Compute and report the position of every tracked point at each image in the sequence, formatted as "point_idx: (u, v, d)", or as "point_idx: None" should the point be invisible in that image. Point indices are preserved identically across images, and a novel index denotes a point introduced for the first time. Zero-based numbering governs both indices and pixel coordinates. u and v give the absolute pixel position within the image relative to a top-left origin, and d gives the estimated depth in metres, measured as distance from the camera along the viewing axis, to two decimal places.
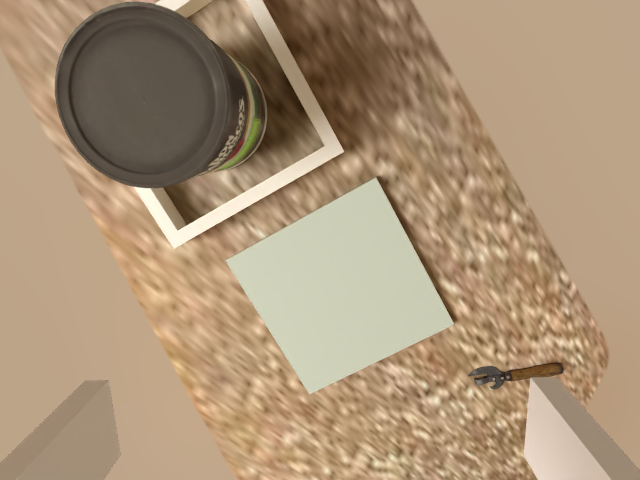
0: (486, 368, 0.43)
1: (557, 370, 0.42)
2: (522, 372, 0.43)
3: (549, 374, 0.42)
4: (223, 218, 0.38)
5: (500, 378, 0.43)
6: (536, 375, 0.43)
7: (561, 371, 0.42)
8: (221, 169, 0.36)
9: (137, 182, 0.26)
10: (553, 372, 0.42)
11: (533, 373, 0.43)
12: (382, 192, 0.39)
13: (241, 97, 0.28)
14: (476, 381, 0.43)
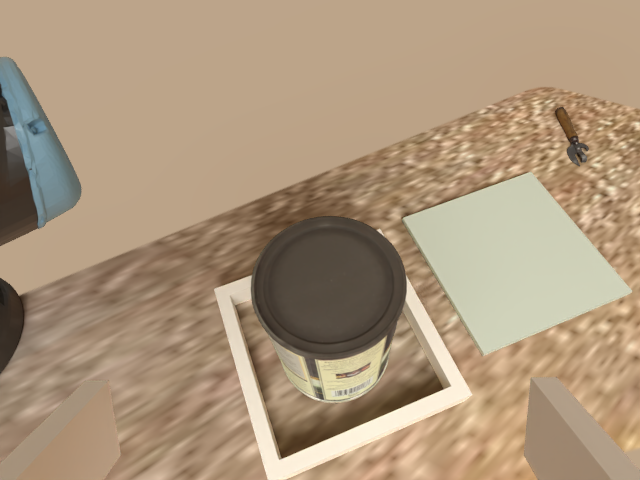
0: (569, 154, 0.51)
1: (561, 110, 0.54)
2: (568, 130, 0.52)
3: (566, 114, 0.53)
4: (437, 335, 0.38)
5: (576, 144, 0.51)
6: (569, 121, 0.53)
7: (562, 108, 0.54)
8: None
9: (400, 298, 0.28)
10: (564, 112, 0.54)
11: (567, 123, 0.53)
12: (415, 214, 0.47)
13: None
14: (583, 159, 0.50)
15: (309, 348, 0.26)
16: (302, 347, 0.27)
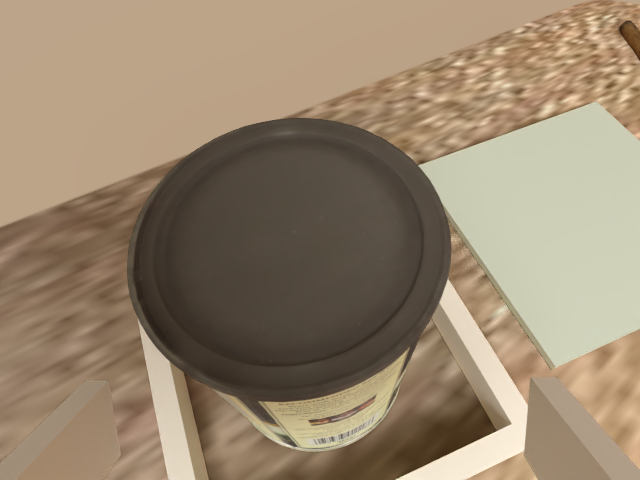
0: None
1: (629, 24, 0.39)
2: None
3: (636, 29, 0.39)
4: (482, 338, 0.23)
5: None
6: None
7: (630, 21, 0.39)
8: None
9: (440, 263, 0.13)
10: (633, 26, 0.39)
11: (639, 40, 0.38)
12: (434, 160, 0.32)
13: None
14: None
15: (239, 377, 0.12)
16: (224, 374, 0.12)
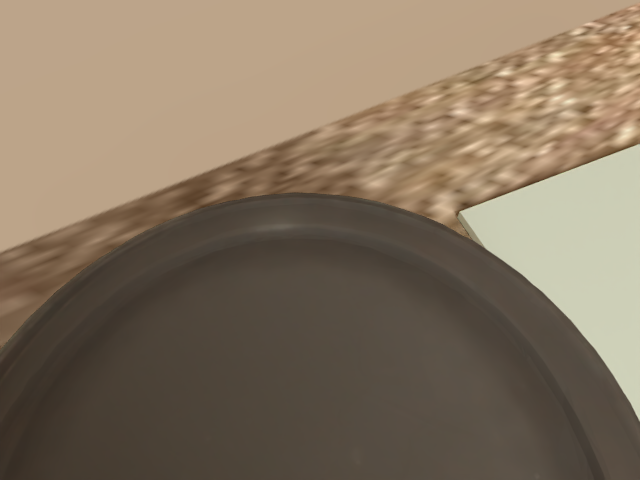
0: None
1: None
2: None
3: None
4: None
5: None
6: None
7: None
8: None
9: None
10: None
11: None
12: (484, 204, 0.24)
13: None
14: None
15: None
16: None
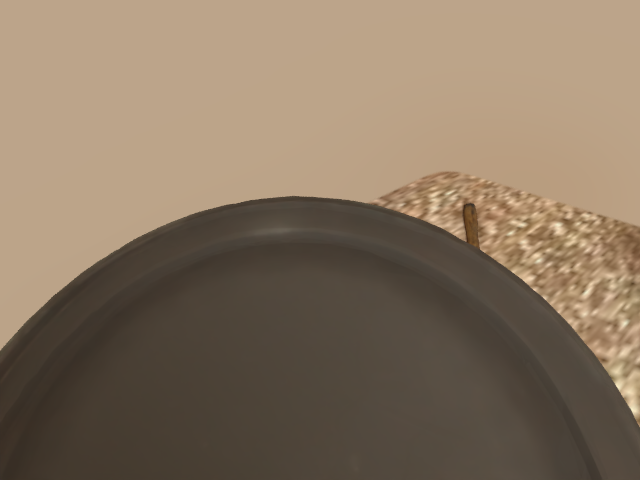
0: None
1: (469, 208, 0.42)
2: (469, 238, 0.41)
3: (473, 214, 0.41)
4: None
5: None
6: (473, 225, 0.41)
7: (471, 204, 0.42)
8: None
9: None
10: (471, 211, 0.42)
11: (471, 228, 0.41)
12: None
13: None
14: None
15: None
16: None
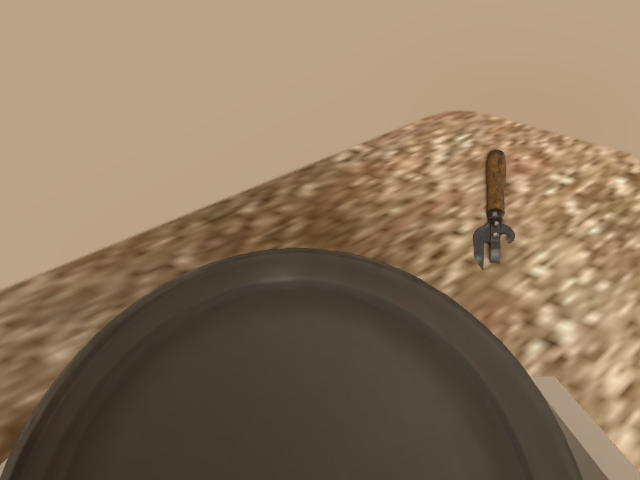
0: (475, 241, 0.27)
1: (495, 156, 0.29)
2: (490, 196, 0.28)
3: (500, 164, 0.29)
4: None
5: (496, 224, 0.27)
6: (498, 179, 0.28)
7: (498, 151, 0.29)
8: None
9: None
10: (498, 160, 0.29)
11: (494, 182, 0.28)
12: None
13: None
14: (493, 257, 0.25)
15: None
16: None
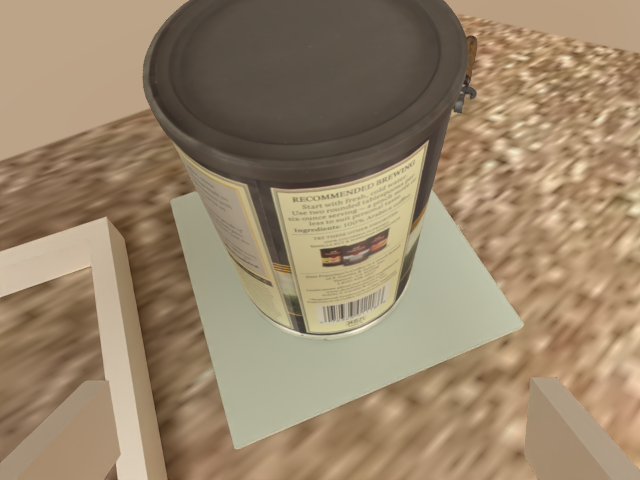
0: None
1: (469, 39, 0.36)
2: None
3: (472, 45, 0.35)
4: (134, 417, 0.20)
5: (462, 86, 0.33)
6: (469, 55, 0.35)
7: (472, 36, 0.36)
8: None
9: (457, 64, 0.13)
10: (470, 42, 0.35)
11: None
12: (191, 194, 0.29)
13: None
14: (457, 106, 0.32)
15: (255, 152, 0.12)
16: (239, 151, 0.12)
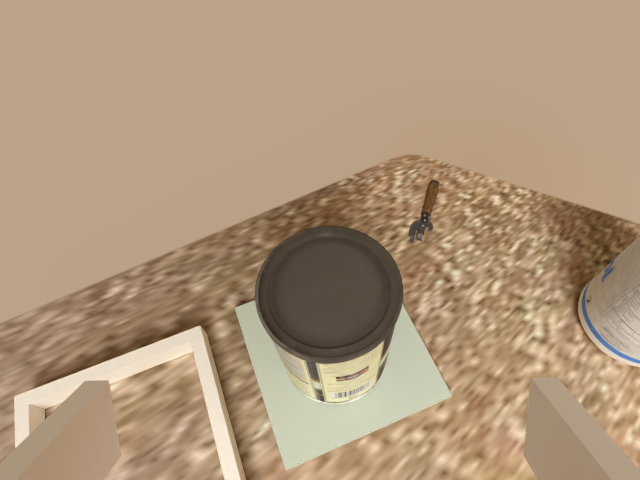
0: (412, 228, 0.50)
1: (433, 183, 0.52)
2: (425, 205, 0.51)
3: (434, 189, 0.51)
4: (231, 453, 0.36)
5: (424, 221, 0.50)
6: (431, 196, 0.51)
7: (435, 181, 0.52)
8: None
9: (397, 304, 0.29)
10: (433, 186, 0.52)
11: (429, 198, 0.51)
12: (248, 303, 0.45)
13: None
14: (418, 237, 0.49)
15: (310, 352, 0.28)
16: (304, 351, 0.28)
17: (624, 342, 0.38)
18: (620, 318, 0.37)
